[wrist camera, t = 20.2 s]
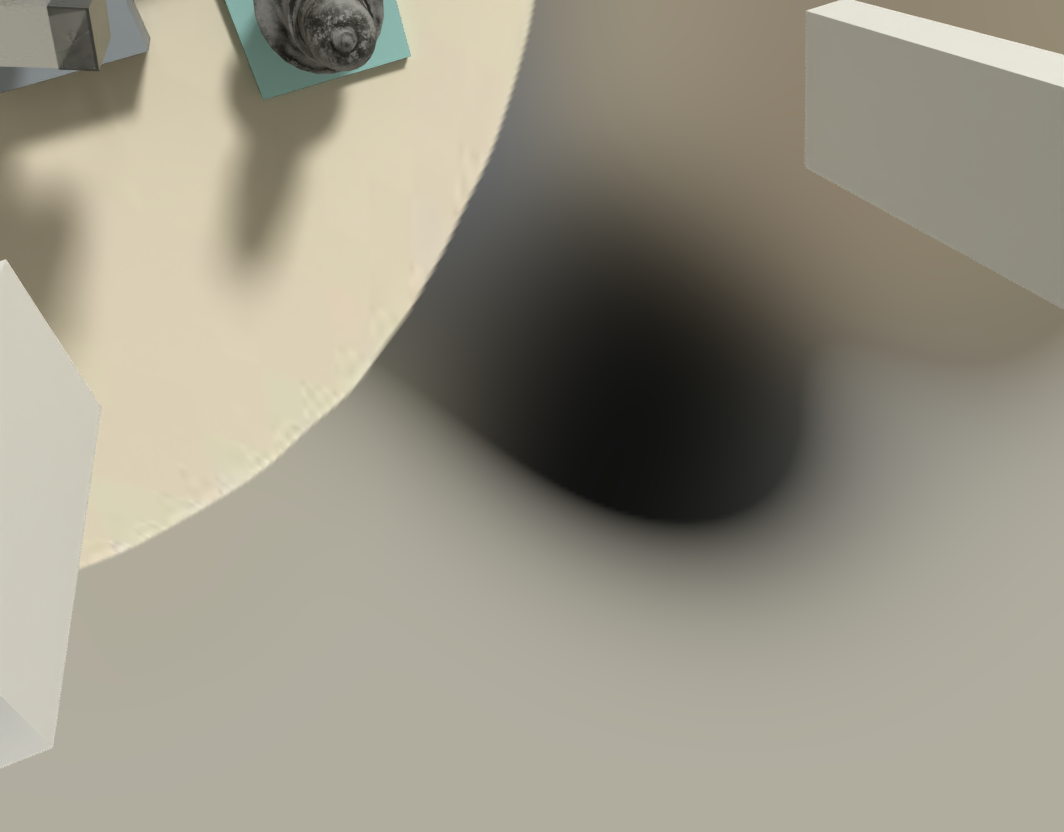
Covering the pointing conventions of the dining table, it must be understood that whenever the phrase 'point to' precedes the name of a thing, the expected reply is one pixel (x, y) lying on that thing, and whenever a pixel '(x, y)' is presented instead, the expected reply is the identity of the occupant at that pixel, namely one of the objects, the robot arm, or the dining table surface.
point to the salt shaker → (321, 32)
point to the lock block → (123, 43)
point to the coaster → (286, 78)
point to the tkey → (54, 34)
